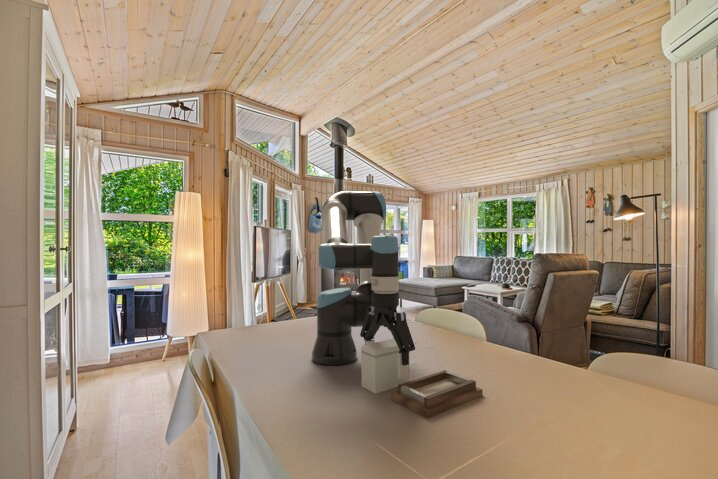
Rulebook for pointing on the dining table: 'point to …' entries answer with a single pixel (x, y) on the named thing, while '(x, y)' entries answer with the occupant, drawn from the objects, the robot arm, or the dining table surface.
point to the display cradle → (436, 393)
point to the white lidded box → (381, 366)
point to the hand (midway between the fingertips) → (385, 370)
